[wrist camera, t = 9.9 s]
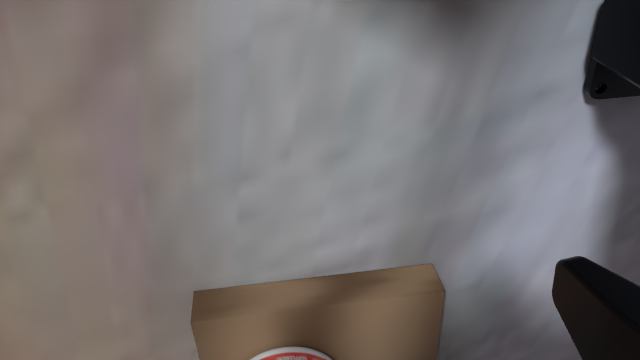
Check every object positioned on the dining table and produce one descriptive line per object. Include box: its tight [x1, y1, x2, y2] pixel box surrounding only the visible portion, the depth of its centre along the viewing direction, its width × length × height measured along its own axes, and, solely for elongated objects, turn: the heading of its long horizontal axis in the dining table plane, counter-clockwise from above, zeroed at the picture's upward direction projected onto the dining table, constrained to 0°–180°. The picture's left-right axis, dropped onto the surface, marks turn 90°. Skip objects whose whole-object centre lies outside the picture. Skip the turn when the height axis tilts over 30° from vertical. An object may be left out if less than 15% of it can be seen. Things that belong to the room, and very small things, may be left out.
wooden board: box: [191, 264, 445, 360], centre depth 28 cm, size 12×10×2 cm
